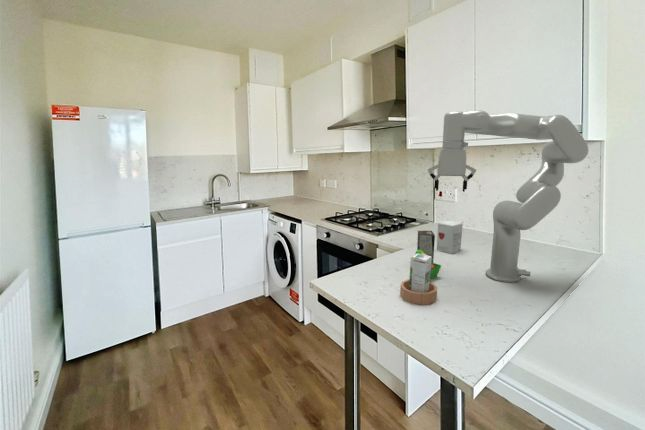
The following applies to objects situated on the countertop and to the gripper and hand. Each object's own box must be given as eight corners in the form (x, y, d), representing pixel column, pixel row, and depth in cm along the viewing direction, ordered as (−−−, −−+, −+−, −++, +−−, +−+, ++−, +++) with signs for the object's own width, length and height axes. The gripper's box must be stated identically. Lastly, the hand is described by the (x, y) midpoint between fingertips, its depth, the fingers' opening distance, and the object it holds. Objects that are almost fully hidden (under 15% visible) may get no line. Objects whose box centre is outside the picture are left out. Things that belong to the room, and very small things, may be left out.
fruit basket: (424, 284, 126) (425, 257, 123) (406, 277, 133) (407, 251, 130) (441, 277, 132) (442, 251, 130) (423, 270, 139) (424, 246, 137)
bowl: (437, 292, 118) (438, 282, 118) (434, 307, 107) (435, 296, 107) (403, 286, 123) (404, 277, 123) (397, 300, 112) (398, 290, 111)
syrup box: (414, 289, 119) (415, 252, 116) (429, 293, 116) (431, 255, 113) (408, 295, 115) (409, 257, 112) (424, 299, 111) (426, 260, 108)
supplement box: (435, 250, 167) (437, 222, 164) (445, 246, 172) (447, 219, 169) (451, 254, 160) (453, 225, 157) (461, 250, 165) (463, 222, 162)
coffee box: (433, 271, 139) (435, 235, 135) (418, 270, 140) (419, 235, 137) (430, 263, 147) (432, 230, 144) (416, 263, 149) (417, 229, 145)
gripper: (477, 145, 120) (474, 190, 124) (429, 146, 127) (427, 189, 130) (478, 145, 113) (474, 192, 117) (428, 146, 120) (425, 191, 124)
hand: (450, 190), depth 124 cm, fingers open, 9 cm apart
